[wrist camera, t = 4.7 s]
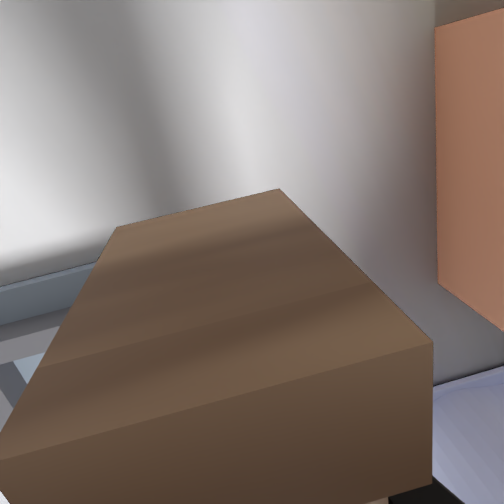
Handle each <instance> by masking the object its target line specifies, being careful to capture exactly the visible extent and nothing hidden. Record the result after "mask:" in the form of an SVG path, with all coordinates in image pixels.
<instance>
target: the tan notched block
mask: <svg viewBox="0 0 504 504" xmlns="http://www.w3.org/2000/svg"><path fill="white" fill-rule="evenodd" d="M432 442H433V341H432V340H431V339H430V338H429V337H428V336H427V335H426V334H425V333H424V332H423V331H422V330H421V329H420V328H419V327H418V326H417V325H416V324H415V323H414V322H413V321H412V320H411V319H410V318H409V317H408V316H407V315H406V314H405V313H404V312H403V311H402V310H401V309H400V308H399V307H398V306H397V305H396V304H395V303H394V302H393V301H392V300H391V299H390V298H389V297H388V296H387V295H386V294H385V293H384V292H383V291H382V290H381V289H380V288H379V287H378V286H377V285H376V284H375V283H374V282H373V281H372V280H371V279H370V278H369V277H368V276H367V275H366V274H365V273H364V272H363V271H362V270H361V269H360V268H359V267H358V266H357V265H356V264H355V263H354V262H353V261H352V260H351V259H350V258H349V257H348V256H347V255H346V254H345V253H344V252H343V251H342V250H341V249H340V248H339V247H338V246H337V245H336V244H335V243H334V242H333V241H332V240H331V239H330V238H329V237H328V236H326V235H325V234H324V233H323V232H322V231H321V230H320V229H319V228H318V227H317V226H316V225H315V224H314V223H313V222H312V221H311V220H310V219H309V218H308V217H307V216H306V215H305V214H304V213H303V212H302V211H301V210H300V209H299V208H298V207H297V206H296V205H295V204H294V203H293V202H292V201H291V200H290V199H289V198H288V197H287V196H286V195H285V194H284V193H283V192H282V191H281V190H280V189H275V190H271V191H266V192H262V193H258V194H254V195H250V196H245V197H241V198H237V199H233V200H229V201H224V202H220V203H216V204H212V205H208V206H203V207H199V208H195V209H191V210H186V211H182V212H178V213H174V214H170V215H165V216H161V217H157V218H153V219H149V220H144V221H140V222H136V223H132V224H128V225H123V226H119V227H116V229H115V230H114V232H113V234H112V236H111V237H110V239H109V241H108V243H107V245H106V246H105V248H104V250H103V252H102V253H101V255H100V257H99V259H98V260H97V262H96V264H95V266H94V268H93V269H92V271H91V273H90V275H89V276H88V278H87V280H86V282H85V283H84V285H83V287H82V289H81V290H80V292H79V294H78V296H77V298H76V299H75V301H74V303H73V305H72V306H71V308H70V310H69V312H68V313H67V315H66V317H65V319H64V320H63V322H62V324H61V326H60V328H59V329H58V331H57V333H56V335H55V336H54V338H53V340H52V342H51V343H50V345H49V347H48V349H47V351H46V352H45V354H44V356H43V358H42V359H41V361H40V363H39V365H38V366H37V368H36V370H35V372H34V373H33V375H32V377H31V379H30V381H29V382H28V384H27V386H26V388H25V389H24V391H23V393H22V395H21V396H20V398H19V400H18V402H17V404H16V405H15V407H14V409H13V411H12V412H11V414H10V416H9V418H8V419H7V421H6V423H5V425H4V426H3V428H2V430H1V432H0V491H1V492H2V494H3V495H4V496H5V498H6V499H7V500H8V502H9V503H10V504H388V497H389V496H393V495H396V494H399V493H403V492H406V491H409V490H413V489H416V488H419V487H423V486H426V485H429V484H432Z"/></svg>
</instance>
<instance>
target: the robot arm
mask: <svg viewBox="0 0 504 504" xmlns="http://www.w3.org/2000/svg"><path fill="white" fill-rule="evenodd" d="M388 504H504V366H502V367H498V368H495V369H492V370H488V371H485V372H481V373H478V374H475V375H471V376H468V377H465V378H461V379H458V380H454V381H451V382H448V383H444V384H441V385H438V386H434V387H433V442H432V484H429V485H426V486H423V487H419V488H416V489H413V490H409V491H406V492H403V493H399V494H396V495H393V496H389V497H388Z"/></svg>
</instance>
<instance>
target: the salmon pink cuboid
mask: <svg viewBox="0 0 504 504" xmlns="http://www.w3.org/2000/svg"><path fill="white" fill-rule="evenodd" d="M435 103H436V183H437V263H438V284H439V285H441V286H442V287H444V288H445V289H446V290H448V291H449V292H450V293H452V294H453V295H454V296H456V297H457V298H458V299H460V300H461V301H462V302H464V303H465V304H467V305H468V306H469V307H471V308H472V309H473V310H475V311H476V312H477V313H479V314H480V315H481V316H483V317H484V318H486V319H487V320H488V321H490V322H491V323H492V324H494V325H495V326H496V327H498V328H499V329H500V330H502V331H503V332H504V8H501V9H497V10H494V11H491V12H487V13H484V14H480V15H477V16H473V17H470V18H466V19H463V20H459V21H456V22H453V23H449V24H446V25H442V26H439V27H435Z"/></svg>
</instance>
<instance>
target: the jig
mask: <svg viewBox="0 0 504 504" xmlns="http://www.w3.org/2000/svg"><path fill="white" fill-rule="evenodd" d="M95 264H96V262H94V263H90V264H86V265H83V266H79V267H75V268H71V269H67V270H63V271H59V272H56V273H52V274H48V275H44V276H40V277H36V278H32V279H29V280H25V281H21V282H17V283H13V284H9V285H5V286H2V287H0V432H1V430H2V428H3V426H4V425H5V423H6V421H7V419H8V418H9V416H10V414H11V412H12V411H13V409H14V407H15V405H16V404H17V402H18V400H19V398H20V396H21V395H22V393H23V391H24V389H25V388H26V386H27V384H28V382H29V381H30V379H31V377H32V375H33V373H34V372H35V370H36V368H37V366H38V365H39V363H40V361H41V359H42V358H43V356H44V354H45V352H46V351H47V349H48V347H49V345H50V343H51V342H52V340H53V338H54V336H55V335H56V333H57V331H58V329H59V328H60V326H61V324H62V322H63V320H64V319H65V317H66V315H67V313H68V312H69V310H70V308H71V306H72V305H73V303H74V301H75V299H76V298H77V296H78V294H79V292H80V290H81V289H82V287H83V285H84V283H85V282H86V280H87V278H88V276H89V275H90V273H91V271H92V269H93V268H94V266H95Z"/></svg>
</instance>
